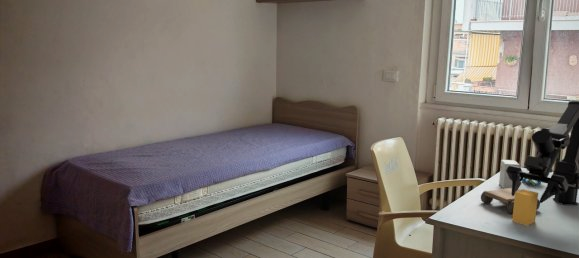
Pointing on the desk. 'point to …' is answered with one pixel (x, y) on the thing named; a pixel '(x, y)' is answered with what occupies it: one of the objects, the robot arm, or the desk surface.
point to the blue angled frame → (531, 181)
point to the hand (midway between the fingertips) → (526, 198)
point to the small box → (504, 177)
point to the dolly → (502, 197)
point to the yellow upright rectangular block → (525, 207)
